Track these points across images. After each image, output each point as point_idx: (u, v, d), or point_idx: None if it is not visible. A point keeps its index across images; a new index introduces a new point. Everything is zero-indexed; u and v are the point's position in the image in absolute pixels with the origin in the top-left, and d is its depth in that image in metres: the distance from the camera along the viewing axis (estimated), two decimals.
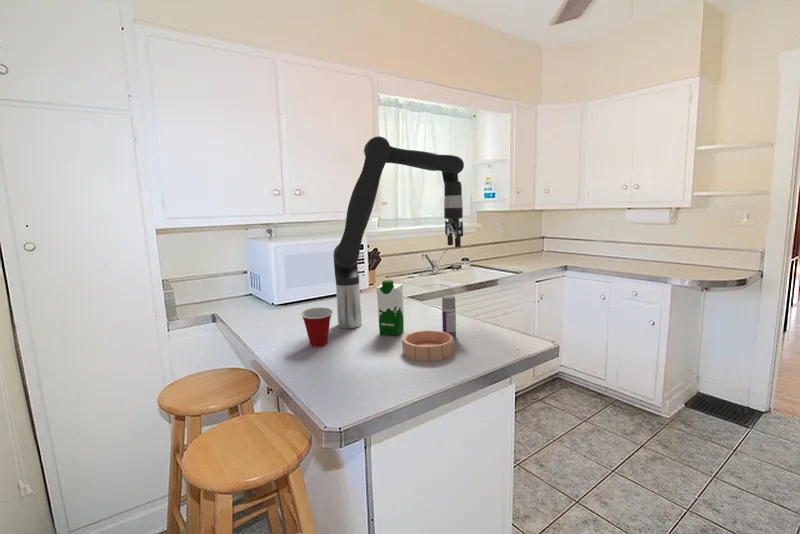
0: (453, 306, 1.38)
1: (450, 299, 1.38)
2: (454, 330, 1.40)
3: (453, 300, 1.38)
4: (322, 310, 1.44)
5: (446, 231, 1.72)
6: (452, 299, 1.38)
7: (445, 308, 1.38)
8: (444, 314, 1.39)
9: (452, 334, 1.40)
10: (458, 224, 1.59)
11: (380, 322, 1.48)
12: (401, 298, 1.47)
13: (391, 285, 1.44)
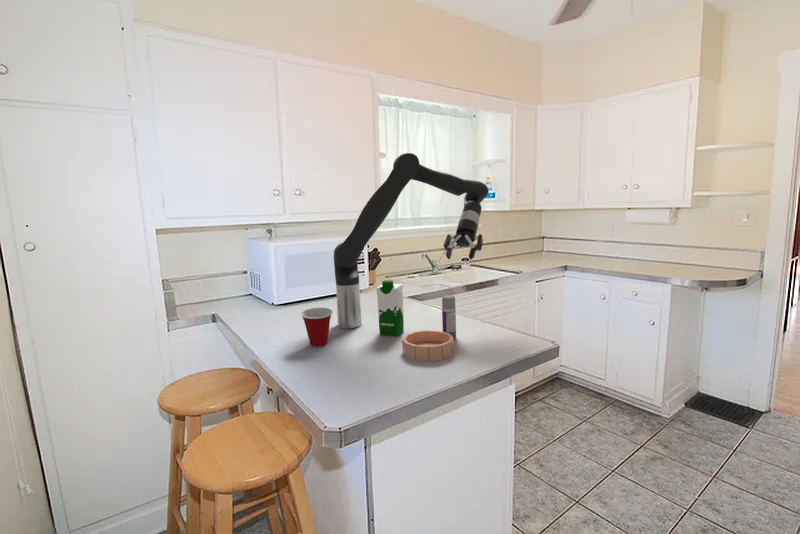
0: (453, 306, 1.38)
1: (450, 299, 1.38)
2: (454, 330, 1.40)
3: (453, 300, 1.38)
4: (322, 310, 1.44)
5: (447, 243, 1.53)
6: (452, 299, 1.38)
7: (445, 308, 1.38)
8: (444, 314, 1.39)
9: (452, 334, 1.40)
10: (481, 237, 1.49)
11: (380, 322, 1.48)
12: (401, 298, 1.47)
13: (391, 285, 1.44)
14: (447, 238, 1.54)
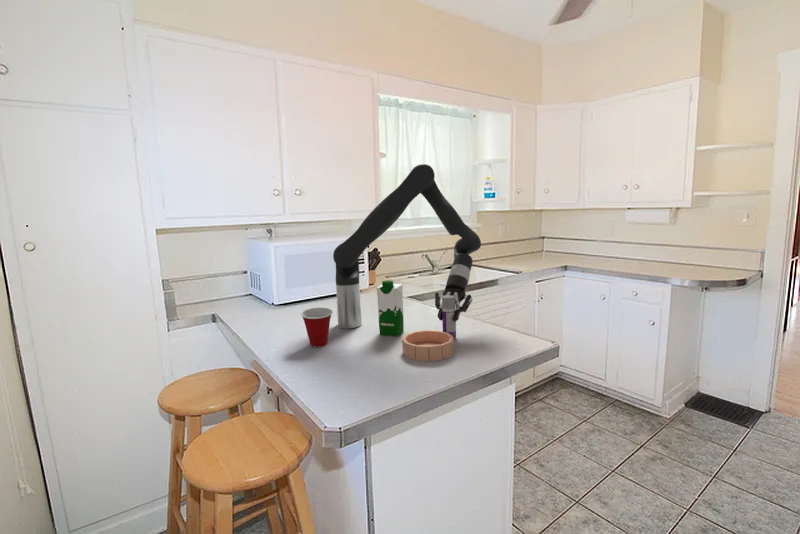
0: (453, 306, 1.38)
1: (450, 299, 1.38)
2: (454, 330, 1.40)
3: (453, 300, 1.38)
4: (322, 310, 1.44)
5: (438, 302, 1.44)
6: (452, 299, 1.38)
7: (445, 308, 1.38)
8: (444, 314, 1.39)
9: (452, 334, 1.40)
10: (470, 298, 1.40)
11: (380, 322, 1.48)
12: (401, 298, 1.47)
13: (391, 285, 1.44)
14: (436, 296, 1.45)
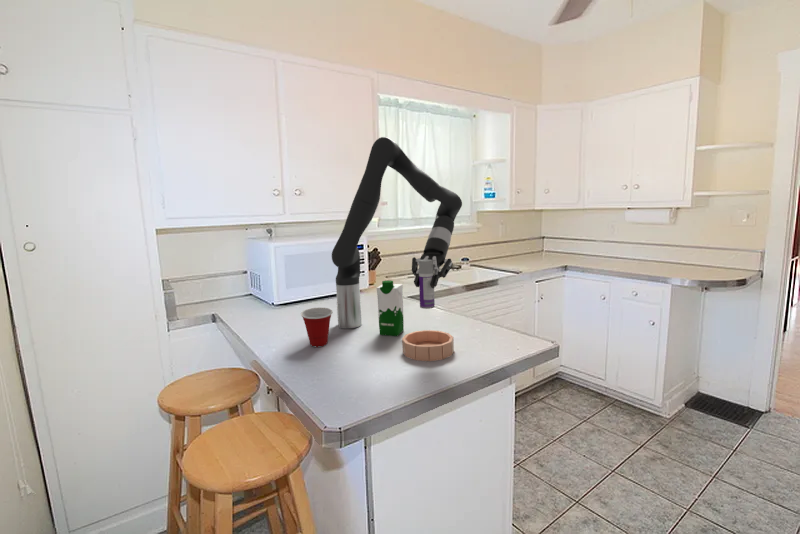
0: (431, 270, 1.24)
1: (427, 262, 1.24)
2: (432, 297, 1.26)
3: (431, 264, 1.24)
4: (322, 310, 1.44)
5: (415, 268, 1.30)
6: (430, 263, 1.24)
7: (422, 273, 1.24)
8: (421, 280, 1.25)
9: (430, 302, 1.26)
10: (450, 262, 1.26)
11: (380, 322, 1.48)
12: (401, 298, 1.47)
13: (391, 285, 1.44)
14: (413, 262, 1.31)
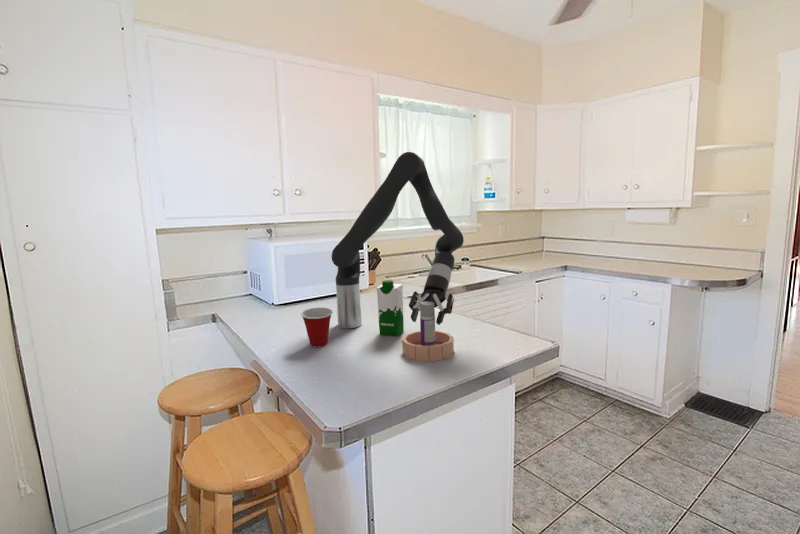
0: (432, 313, 1.26)
1: (428, 306, 1.25)
2: (433, 340, 1.28)
3: (432, 307, 1.26)
4: (322, 310, 1.44)
5: (413, 303, 1.32)
6: (431, 306, 1.26)
7: (423, 316, 1.26)
8: (422, 323, 1.27)
9: (431, 344, 1.27)
10: (452, 297, 1.28)
11: (380, 322, 1.48)
12: (401, 298, 1.47)
13: (391, 285, 1.44)
14: (413, 296, 1.33)
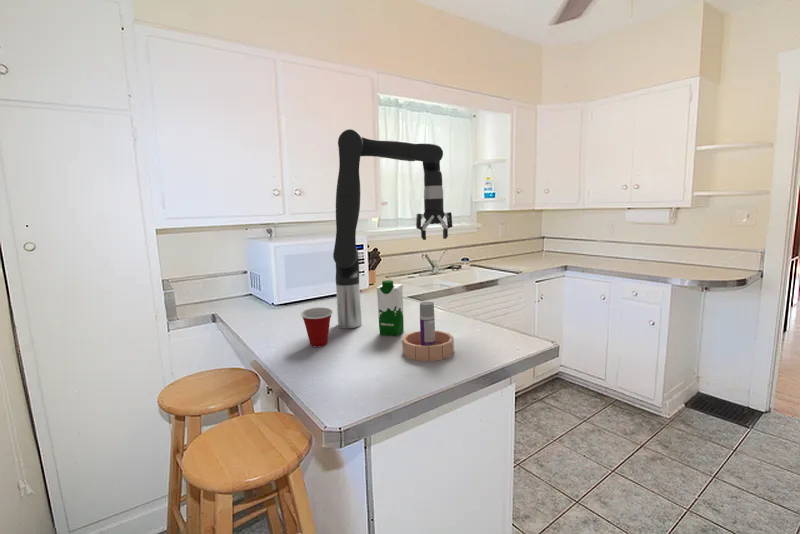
0: (431, 313, 1.26)
1: (428, 306, 1.26)
2: (433, 340, 1.28)
3: (431, 307, 1.26)
4: (322, 310, 1.44)
5: (420, 225, 1.57)
6: (430, 306, 1.26)
7: (423, 316, 1.26)
8: (422, 323, 1.27)
9: (431, 344, 1.27)
10: None
11: (380, 322, 1.48)
12: (401, 298, 1.47)
13: (391, 285, 1.44)
14: (419, 218, 1.56)
